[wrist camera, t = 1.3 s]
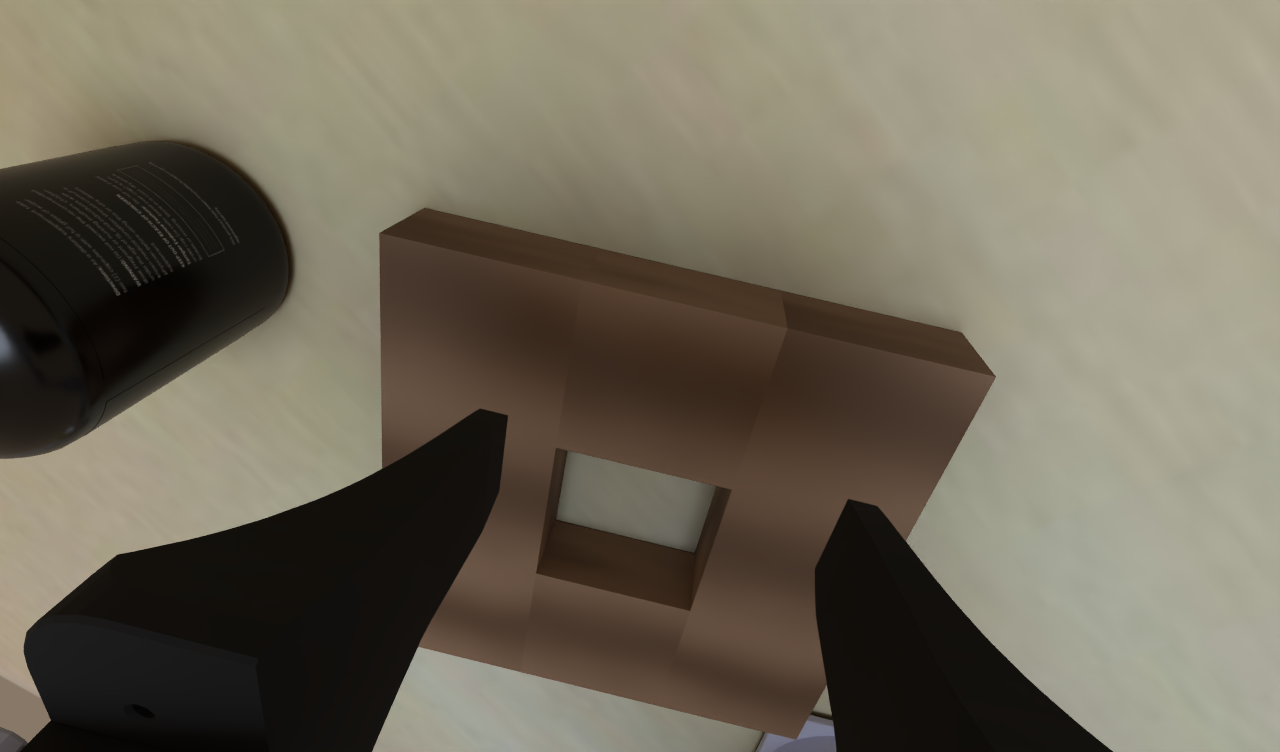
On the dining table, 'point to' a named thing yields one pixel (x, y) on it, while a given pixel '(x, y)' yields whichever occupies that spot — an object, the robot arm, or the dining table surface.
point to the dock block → (659, 455)
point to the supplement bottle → (122, 282)
